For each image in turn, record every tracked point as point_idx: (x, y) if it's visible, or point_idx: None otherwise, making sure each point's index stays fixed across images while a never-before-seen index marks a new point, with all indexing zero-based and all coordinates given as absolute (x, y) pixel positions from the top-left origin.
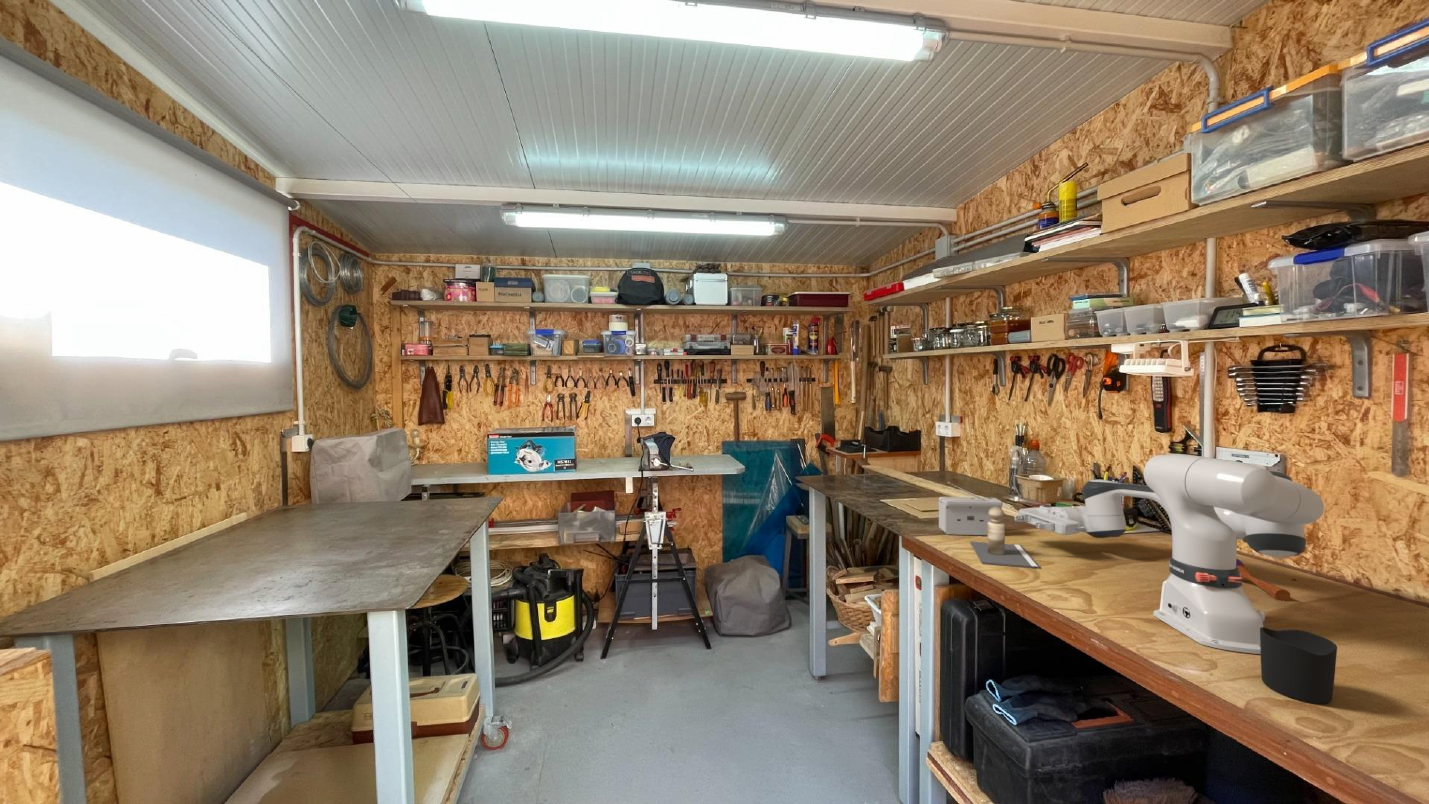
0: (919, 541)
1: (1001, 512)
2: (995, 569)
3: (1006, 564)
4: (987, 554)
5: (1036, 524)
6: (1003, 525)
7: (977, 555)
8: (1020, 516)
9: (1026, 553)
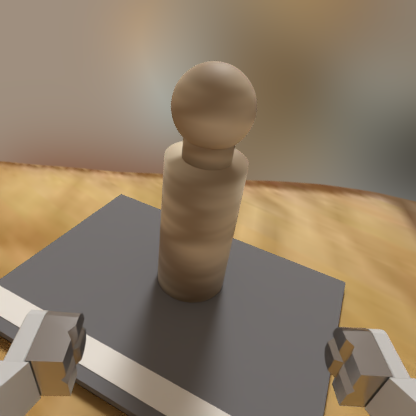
0: (338, 189)
1: (175, 87)
2: (68, 199)
3: (70, 230)
4: None
5: (71, 312)
6: (165, 165)
7: None
8: (367, 363)
9: (133, 395)
